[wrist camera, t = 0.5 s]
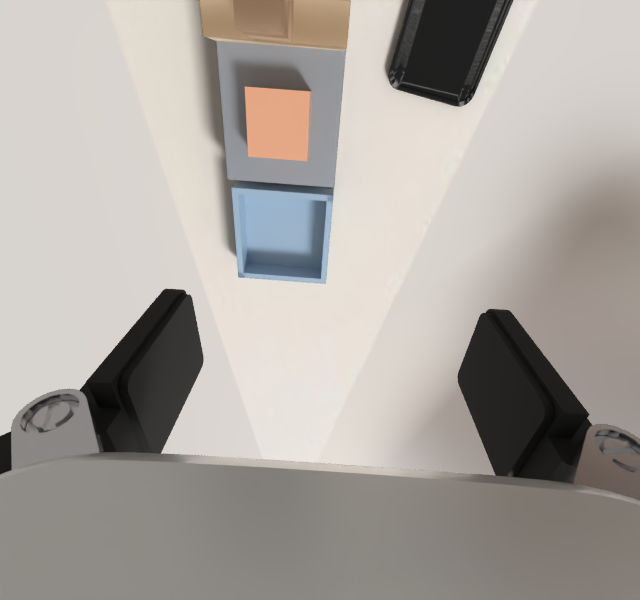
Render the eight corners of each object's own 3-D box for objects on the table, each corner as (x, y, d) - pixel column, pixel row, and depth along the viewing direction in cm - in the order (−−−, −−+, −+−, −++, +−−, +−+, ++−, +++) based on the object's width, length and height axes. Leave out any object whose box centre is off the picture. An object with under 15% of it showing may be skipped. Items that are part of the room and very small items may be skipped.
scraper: (212, -2, 24) (156, -42, 17) (349, 9, 24) (355, -27, 17) (216, 41, 26) (165, 22, 18) (345, 51, 26) (349, 36, 18)
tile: (250, 86, 27) (244, 86, 25) (311, 91, 27) (309, 91, 25) (253, 152, 30) (248, 156, 28) (308, 156, 30) (307, 161, 28)
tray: (239, 180, 35) (231, 187, 33) (333, 187, 35) (333, 195, 33) (244, 265, 40) (238, 277, 38) (326, 271, 40) (325, 283, 38)
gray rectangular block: (226, -11, 27) (210, -25, 24) (349, -2, 27) (351, -15, 24) (238, 170, 34) (227, 179, 31) (334, 177, 34) (334, 187, 31)
